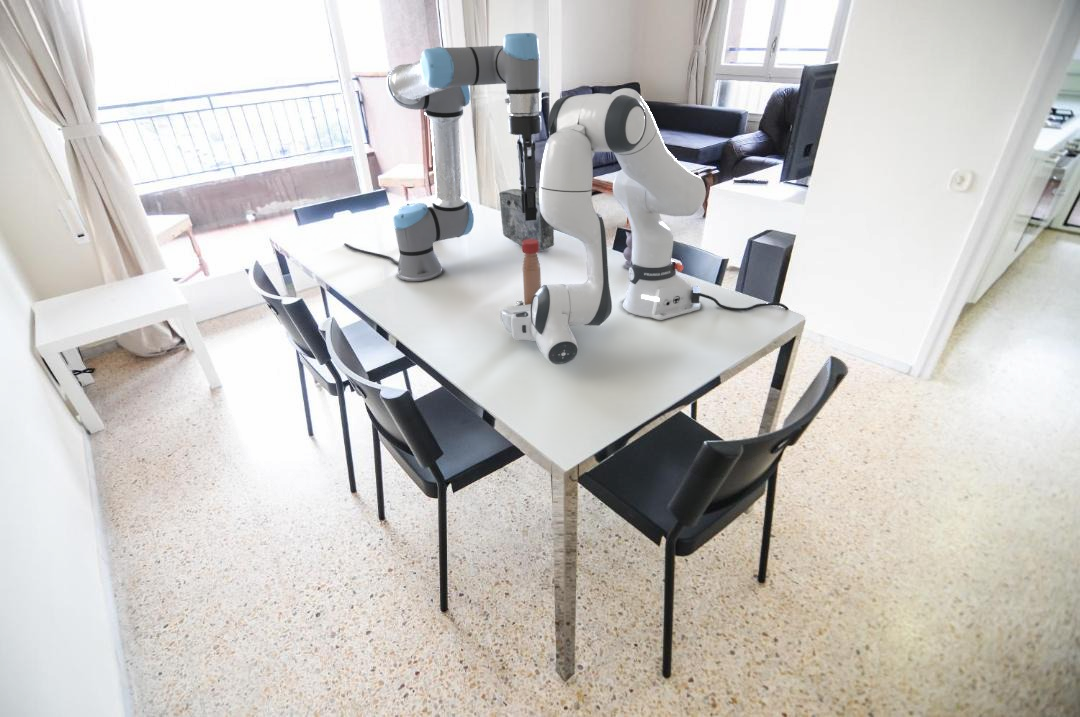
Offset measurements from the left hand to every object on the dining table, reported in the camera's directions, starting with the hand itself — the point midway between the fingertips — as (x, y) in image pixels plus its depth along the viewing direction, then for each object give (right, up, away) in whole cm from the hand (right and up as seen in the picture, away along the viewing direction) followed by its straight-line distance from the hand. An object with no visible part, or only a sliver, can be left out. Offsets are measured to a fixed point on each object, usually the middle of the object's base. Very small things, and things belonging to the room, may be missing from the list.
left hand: (529, 215), depth 125 cm
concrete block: (-1, +8, +72) cm, 73 cm away
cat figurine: (+36, -4, +50) cm, 62 cm away
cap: (0, -8, +5) cm, 9 cm away
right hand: (+1, -20, +13) cm, 24 cm away
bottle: (+1, -26, +16) cm, 31 cm away
